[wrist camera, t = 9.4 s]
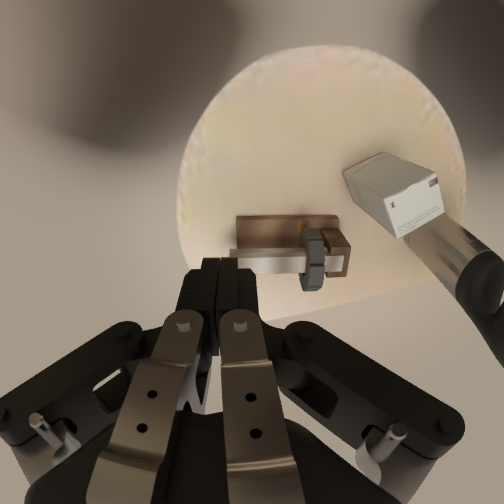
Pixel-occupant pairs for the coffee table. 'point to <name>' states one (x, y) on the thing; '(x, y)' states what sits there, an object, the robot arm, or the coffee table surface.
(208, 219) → the coffee table surface
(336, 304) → the coffee table surface
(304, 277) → the o ring
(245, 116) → the coffee table surface
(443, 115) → the coffee table surface
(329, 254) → the pipe stand
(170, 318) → the robot arm
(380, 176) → the skincare box
